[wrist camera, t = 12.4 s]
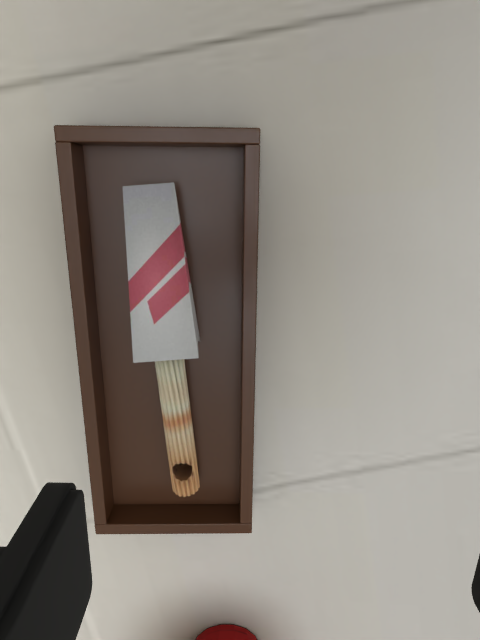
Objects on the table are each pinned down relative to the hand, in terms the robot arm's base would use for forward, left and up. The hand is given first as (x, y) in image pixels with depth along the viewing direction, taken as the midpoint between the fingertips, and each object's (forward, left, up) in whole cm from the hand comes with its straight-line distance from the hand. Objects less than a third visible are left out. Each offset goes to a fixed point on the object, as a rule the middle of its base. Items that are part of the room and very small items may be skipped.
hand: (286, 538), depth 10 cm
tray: (+2, -5, -19) cm, 20 cm away
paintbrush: (+2, -5, -19) cm, 19 cm away
